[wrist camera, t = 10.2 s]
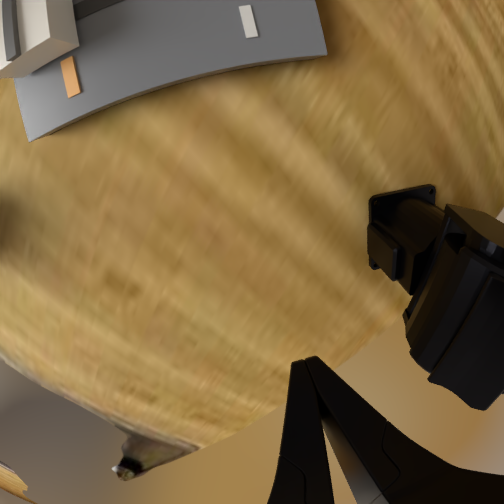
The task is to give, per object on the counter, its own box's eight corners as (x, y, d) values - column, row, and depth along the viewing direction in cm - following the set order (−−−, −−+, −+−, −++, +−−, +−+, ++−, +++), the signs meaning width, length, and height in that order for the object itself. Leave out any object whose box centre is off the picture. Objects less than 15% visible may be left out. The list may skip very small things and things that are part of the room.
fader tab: (69, -20, 8) (39, -41, 5) (79, 46, 11) (45, 35, 7) (15, 13, 8) (-22, 4, 5) (23, 77, 11) (-17, 79, 7)
